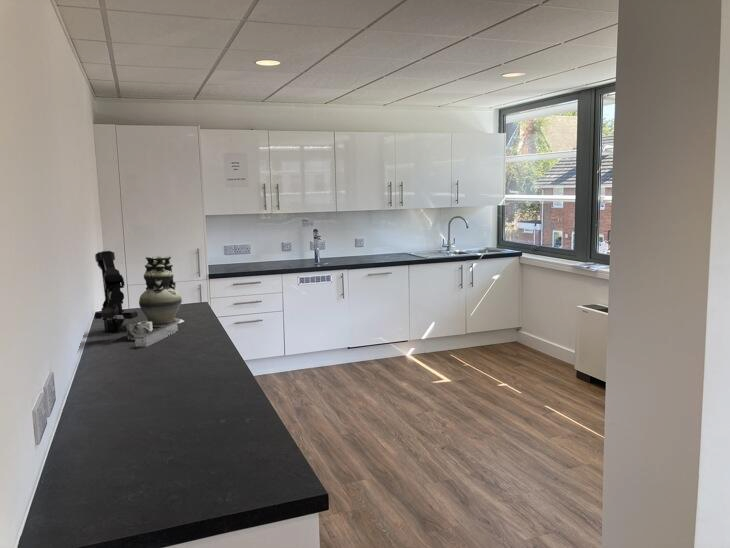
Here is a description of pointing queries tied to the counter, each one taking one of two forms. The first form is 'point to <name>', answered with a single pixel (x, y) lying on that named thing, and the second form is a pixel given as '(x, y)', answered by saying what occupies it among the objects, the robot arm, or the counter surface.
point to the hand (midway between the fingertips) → (117, 332)
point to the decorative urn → (160, 292)
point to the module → (146, 324)
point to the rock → (136, 331)
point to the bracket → (157, 334)
